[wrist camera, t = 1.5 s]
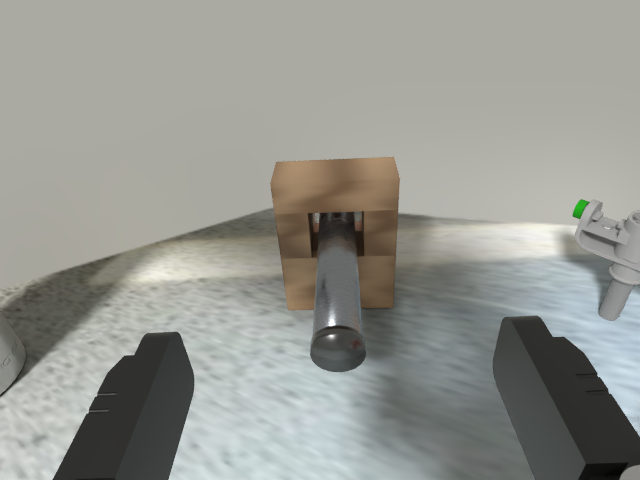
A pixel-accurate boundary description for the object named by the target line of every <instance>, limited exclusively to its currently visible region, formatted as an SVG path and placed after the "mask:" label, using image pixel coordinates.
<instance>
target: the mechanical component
mask: <svg viewBox="0 0 640 480" xmlns="http://www.w3.org/2000/svg"><path fill="white" fill-rule="evenodd" d="M601 209H602V202H600V201H596V200H592V201H591V202H588V201H585V200H580V201H579V202H578V204H577V205H576V207H575V209H574V212H573V217H576V218H579V219H580V221H579V224H578V227H577V230H576V233H575V240H576V242H577V244H578V245H579V246H580V247H581V248H582V249H584V250H586V251H588V252H591V253H594V254H596V255H599V256H601V257H604V258H607V259H609V260H612V261H614V263H613V265H611V266H610V267H609V273H610V275H611V276H612V277H613V279H612V281H611V284H610V286H609V289H608V291H607V293H606V295H605V297H604V300H603V302H602V305H601V306H600V309H599V315H600V316H601V317H603V318H604V319H606V320H610V321H614V320H615V319H617V318H618V317H619V316H620V315H619V314H620V313H621V311H622V310H623V308H624V306H625V303H626V301H627V299H628V296H629V294H630V292H631V290H632V289H633V287H634V285H638V284H640V210H637V211H633V212H632V213H631V214H630V215H629V216H628V218H627V220H624V219H623V220H621V221H620V222H618V221H615V220H612V219H609V218H606V217H603V214H604V213H603V212H600V211H601ZM603 227H609V228H611V229H605V228H603Z"/></svg>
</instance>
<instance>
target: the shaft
mask: <svg viewBox="0 0 640 480" xmlns="http://www.w3.org/2000/svg"><path fill="white" fill-rule="evenodd" d="M310 355H311V358H312V360H313V362H314V363H315V364H316V365H317V366H319V367H320V368H322V369H324V370H327V371H332V372H345V371H349V370H352V369H355V368H356V367H358V366H359V365H361V364H362V362H363V361H364V359H365V356H366V350H365V340H364V338H363V331H362V317H361V303H360V289H359V274H358V260H357V246H356V232H355V218H354V211H353V212H325V213H320V218H319V236H318V254H317V272H316V290H315V308H314V326H313V337H312V340H311V351H310Z"/></svg>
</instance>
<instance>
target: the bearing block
mask: <svg viewBox="0 0 640 480" xmlns="http://www.w3.org/2000/svg"><path fill="white" fill-rule="evenodd" d="M399 182H400V178H399V174H398V170H397V167H396V163H395V159H394V157H381V158H356V159H334V160H310V161H287V162H276V165H275V169H274V172H273V176H272V180H271V191H272V198H273V205H274V213H275V220H276V227H277V234H278V241H279V248H280V255H281V262H282V270H283V277H284V284H285V291H286V298H287V305H288V310H312V309H314V308H315V290H316V272H317V254H318V236H319V232H313V220H312V213H325V212H353V211H362V231H355V232H356V246H357V260H358V274H359V289H360V303H361V308H393V297H394V278H395V258H396V239H397V220H398V200H399Z"/></svg>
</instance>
